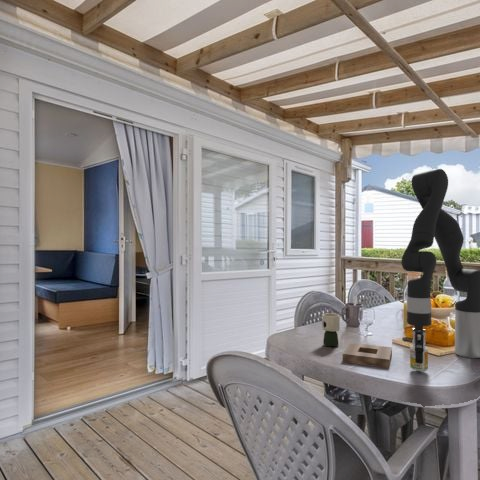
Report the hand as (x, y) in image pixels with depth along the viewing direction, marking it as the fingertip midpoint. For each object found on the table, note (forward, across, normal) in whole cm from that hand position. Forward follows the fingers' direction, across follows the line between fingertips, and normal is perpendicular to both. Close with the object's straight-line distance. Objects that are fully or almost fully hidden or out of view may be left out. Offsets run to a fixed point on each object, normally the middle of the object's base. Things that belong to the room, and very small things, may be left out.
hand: (419, 359), depth 129 cm
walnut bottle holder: (+4, +8, +17) cm, 19 cm away
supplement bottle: (+3, 0, 0) cm, 3 cm away
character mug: (+4, +19, +33) cm, 39 cm away
